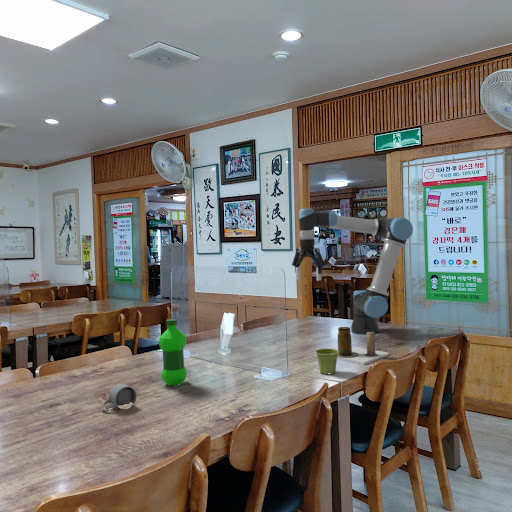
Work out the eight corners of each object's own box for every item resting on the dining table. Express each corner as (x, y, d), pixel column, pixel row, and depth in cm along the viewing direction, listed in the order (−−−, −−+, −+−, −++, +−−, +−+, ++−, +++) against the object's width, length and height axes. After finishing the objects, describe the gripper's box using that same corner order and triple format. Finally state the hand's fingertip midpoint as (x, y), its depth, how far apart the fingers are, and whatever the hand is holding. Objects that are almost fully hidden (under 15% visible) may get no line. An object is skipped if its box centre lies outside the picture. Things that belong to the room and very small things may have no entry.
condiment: (344, 351, 217) (343, 325, 216) (359, 354, 210) (358, 327, 210) (333, 354, 212) (332, 328, 212) (348, 357, 206) (347, 330, 205)
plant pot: (340, 369, 192) (340, 348, 192) (338, 376, 183) (337, 354, 183) (317, 369, 195) (317, 348, 194) (314, 375, 186) (313, 354, 185)
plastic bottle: (158, 382, 185) (155, 319, 184) (185, 378, 189) (182, 316, 188) (163, 389, 176) (159, 323, 175) (191, 385, 180) (187, 320, 178)
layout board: (354, 348, 225) (353, 325, 224) (389, 354, 212) (388, 330, 211) (328, 357, 211) (327, 333, 211) (363, 364, 198) (363, 338, 197)
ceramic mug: (127, 400, 166) (126, 379, 166) (137, 406, 160) (136, 384, 159) (98, 408, 160) (96, 386, 159) (107, 415, 153) (105, 392, 153)
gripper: (284, 239, 249) (285, 279, 250) (321, 238, 231) (323, 281, 232) (293, 239, 255) (295, 278, 256) (331, 238, 236) (332, 280, 238)
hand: (308, 279), depth 244 cm, fingers open, 13 cm apart
